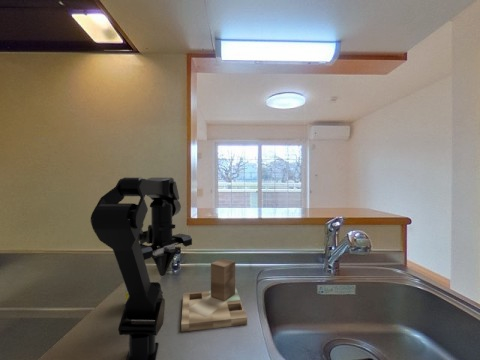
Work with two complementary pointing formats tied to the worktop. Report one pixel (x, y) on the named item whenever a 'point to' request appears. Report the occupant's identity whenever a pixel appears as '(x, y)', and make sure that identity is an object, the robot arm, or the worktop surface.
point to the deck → (211, 311)
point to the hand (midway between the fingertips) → (162, 275)
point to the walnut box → (222, 279)
